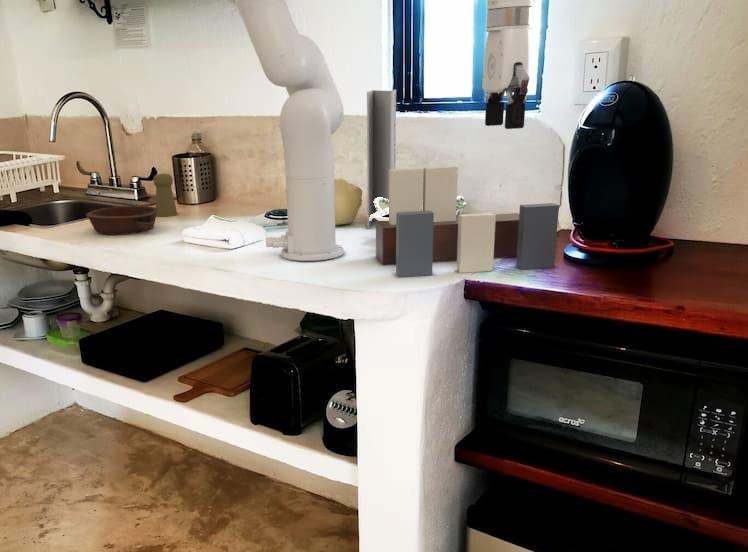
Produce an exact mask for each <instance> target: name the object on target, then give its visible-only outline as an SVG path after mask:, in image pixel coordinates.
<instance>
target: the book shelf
mask: <svg viewBox="0 0 748 552" xmlns="http://www.w3.org/2000/svg"><path fill="white" fill-rule="evenodd" d="M458 219H459V216H456V221H449V222H434V224H433V263H436V262H437V263H438V262H453V261H457V246H458ZM518 227H519V212H514V213H513V212H512V213H497V214H496V220H495V238H494V257H493V259H500V258H501V259H503V258H517V243H518ZM375 258H376V259H377V260H378V261H379V263H380V264H381V265H382V266H388V265H389V266H390V265H396V225H390V224H389V221H379V222H378V221H375Z"/></svg>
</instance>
